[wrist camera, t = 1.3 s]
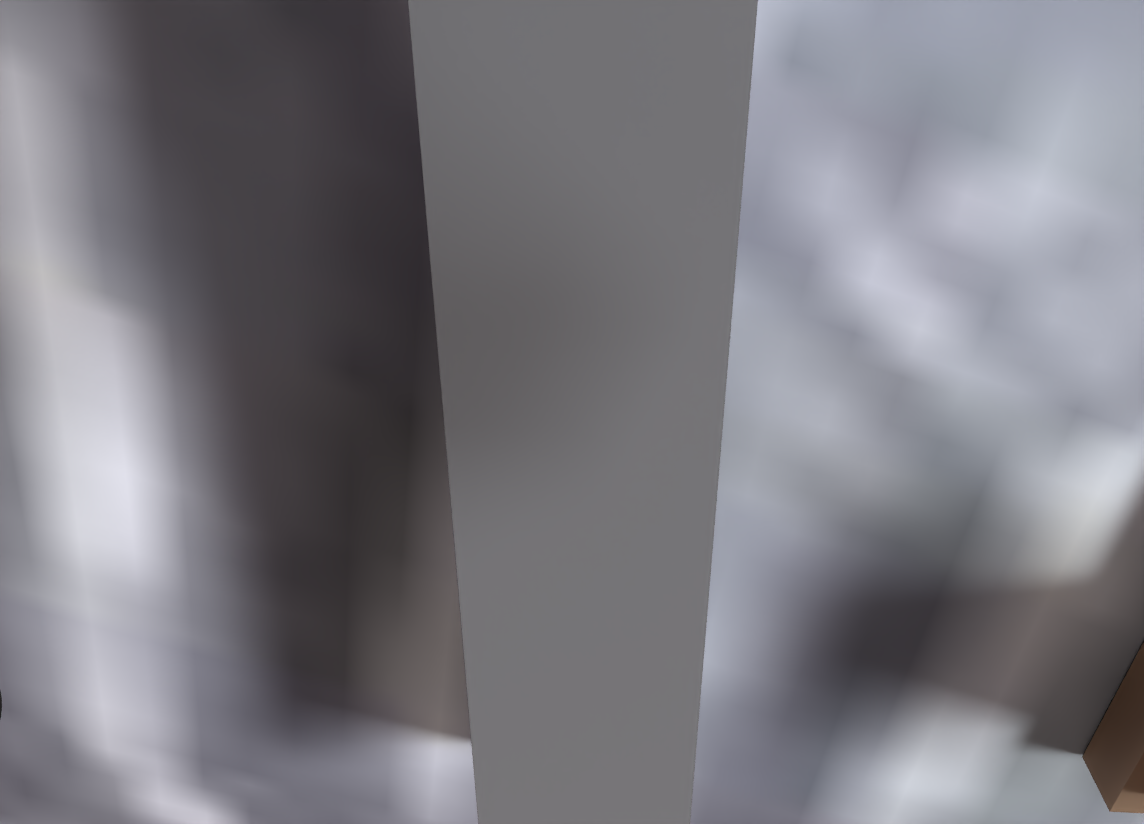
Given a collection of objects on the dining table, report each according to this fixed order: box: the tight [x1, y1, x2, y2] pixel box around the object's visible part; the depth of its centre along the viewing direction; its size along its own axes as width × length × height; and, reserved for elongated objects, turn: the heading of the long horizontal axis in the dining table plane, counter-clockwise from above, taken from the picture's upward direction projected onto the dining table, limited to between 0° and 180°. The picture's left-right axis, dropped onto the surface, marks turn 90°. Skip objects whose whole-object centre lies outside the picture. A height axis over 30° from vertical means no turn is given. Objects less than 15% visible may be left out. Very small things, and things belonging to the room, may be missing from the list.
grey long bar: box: [408, 0, 758, 824], centre depth 13 cm, size 20×3×4 cm, turn 1°
